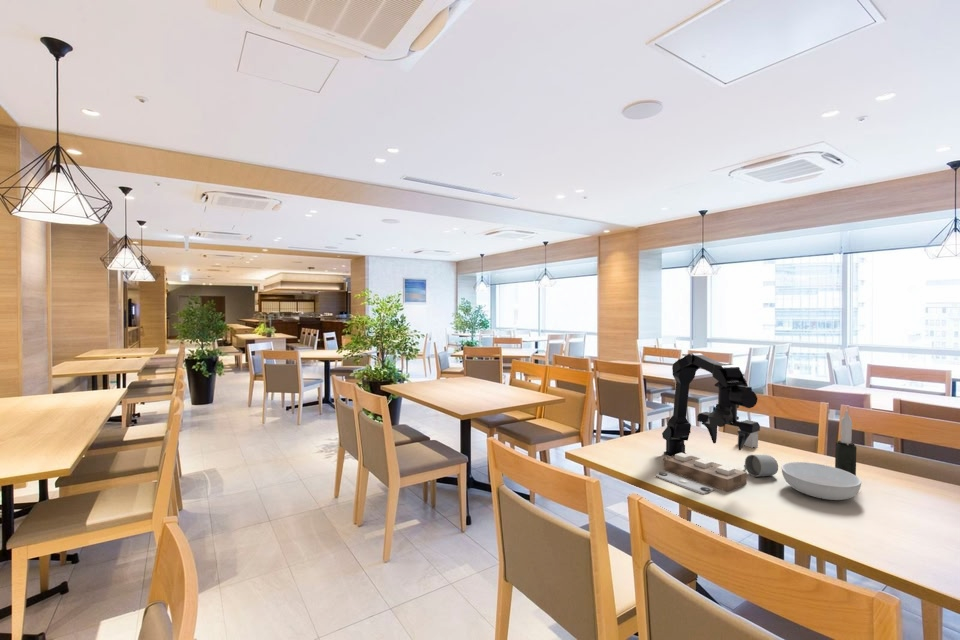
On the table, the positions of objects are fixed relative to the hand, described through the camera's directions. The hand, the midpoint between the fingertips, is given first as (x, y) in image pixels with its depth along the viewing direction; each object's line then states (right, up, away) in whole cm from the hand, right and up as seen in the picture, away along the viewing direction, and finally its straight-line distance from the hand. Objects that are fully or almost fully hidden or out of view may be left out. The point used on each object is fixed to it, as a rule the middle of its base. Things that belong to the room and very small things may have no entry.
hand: (726, 446), depth 154 cm
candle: (+44, -13, +4) cm, 46 cm away
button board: (-5, -13, +7) cm, 15 cm away
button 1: (-9, -10, +14) cm, 19 cm away
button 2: (0, -11, 0) cm, 11 cm away
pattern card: (-15, -13, +1) cm, 20 cm away
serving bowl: (+26, -14, -8) cm, 30 cm away
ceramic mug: (+17, -13, +9) cm, 23 cm away
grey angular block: (+33, -12, +43) cm, 56 cm away
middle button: (-5, -10, +7) cm, 13 cm away
